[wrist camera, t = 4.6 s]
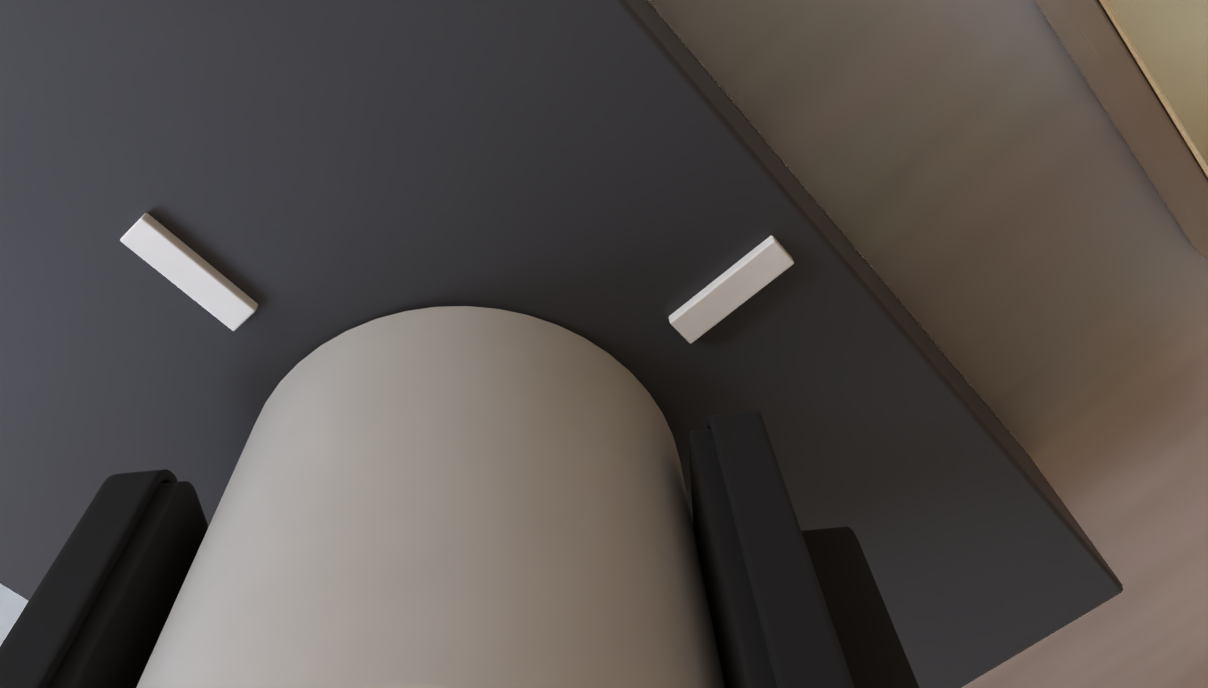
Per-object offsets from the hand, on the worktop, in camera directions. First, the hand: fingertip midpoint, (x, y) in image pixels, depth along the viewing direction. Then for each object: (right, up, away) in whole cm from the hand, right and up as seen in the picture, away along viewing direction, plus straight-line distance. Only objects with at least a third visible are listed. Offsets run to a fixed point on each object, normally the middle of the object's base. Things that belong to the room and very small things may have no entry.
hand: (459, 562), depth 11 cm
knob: (0, +1, +1) cm, 1 cm away
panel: (0, +2, +4) cm, 4 cm away
